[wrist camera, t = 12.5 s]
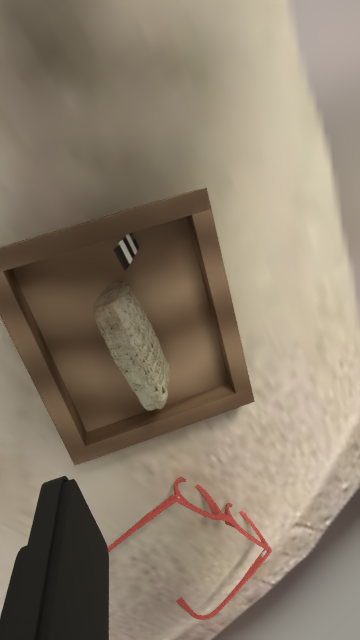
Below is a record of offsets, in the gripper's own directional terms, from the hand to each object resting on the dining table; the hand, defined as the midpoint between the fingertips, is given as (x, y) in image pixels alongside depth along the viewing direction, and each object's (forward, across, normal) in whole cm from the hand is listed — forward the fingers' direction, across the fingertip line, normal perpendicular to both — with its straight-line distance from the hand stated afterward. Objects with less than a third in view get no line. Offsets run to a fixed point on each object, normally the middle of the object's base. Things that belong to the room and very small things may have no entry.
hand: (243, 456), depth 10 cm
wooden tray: (+21, +3, +3) cm, 22 cm away
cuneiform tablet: (+20, +2, +1) cm, 20 cm away
